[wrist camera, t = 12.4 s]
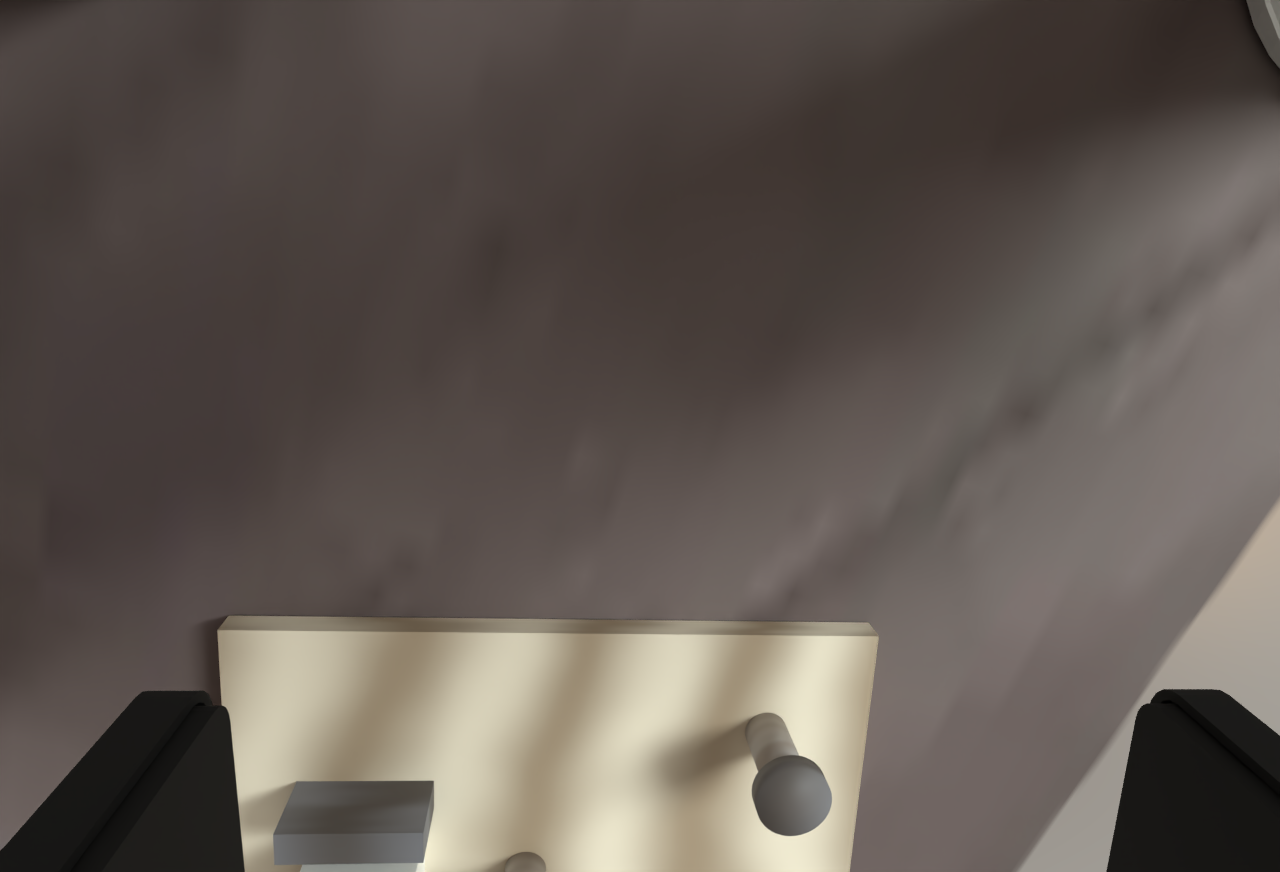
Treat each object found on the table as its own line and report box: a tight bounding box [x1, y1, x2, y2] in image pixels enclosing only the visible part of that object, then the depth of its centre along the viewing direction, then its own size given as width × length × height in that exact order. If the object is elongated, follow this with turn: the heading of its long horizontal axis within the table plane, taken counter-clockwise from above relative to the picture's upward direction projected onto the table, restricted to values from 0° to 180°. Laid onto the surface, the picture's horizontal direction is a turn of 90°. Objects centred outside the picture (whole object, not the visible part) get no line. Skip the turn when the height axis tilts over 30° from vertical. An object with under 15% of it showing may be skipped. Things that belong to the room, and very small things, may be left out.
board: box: [217, 616, 879, 872], centre depth 34 cm, size 24×14×6 cm, turn 87°
